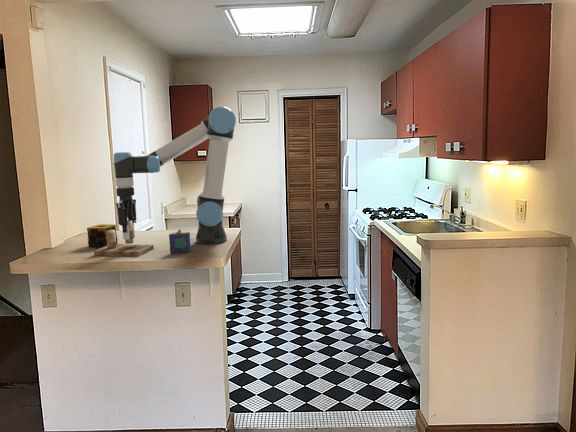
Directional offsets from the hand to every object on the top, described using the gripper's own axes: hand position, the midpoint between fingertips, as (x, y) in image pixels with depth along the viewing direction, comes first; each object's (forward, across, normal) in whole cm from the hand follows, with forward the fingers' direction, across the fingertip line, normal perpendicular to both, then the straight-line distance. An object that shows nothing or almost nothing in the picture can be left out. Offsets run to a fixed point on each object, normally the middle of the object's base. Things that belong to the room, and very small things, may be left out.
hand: (129, 238), depth 213 cm
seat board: (+7, 0, -3) cm, 7 cm away
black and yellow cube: (+7, -12, -21) cm, 25 cm away
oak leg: (+2, 0, 0) cm, 2 cm away
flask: (+7, -1, +24) cm, 25 cm away
